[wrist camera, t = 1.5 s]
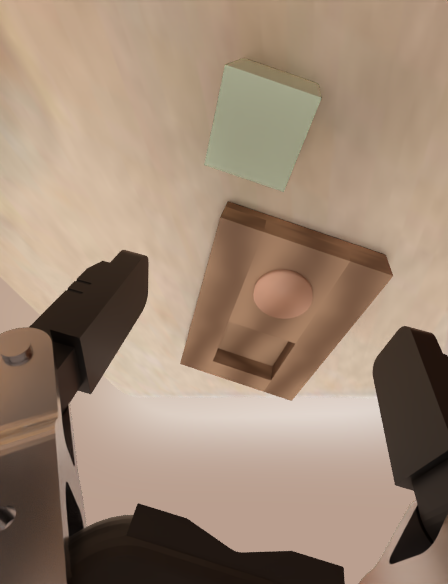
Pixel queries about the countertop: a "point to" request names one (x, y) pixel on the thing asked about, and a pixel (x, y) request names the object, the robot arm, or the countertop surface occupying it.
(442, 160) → the countertop surface
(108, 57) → the countertop surface
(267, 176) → the green block
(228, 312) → the puzzle board
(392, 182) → the countertop surface
